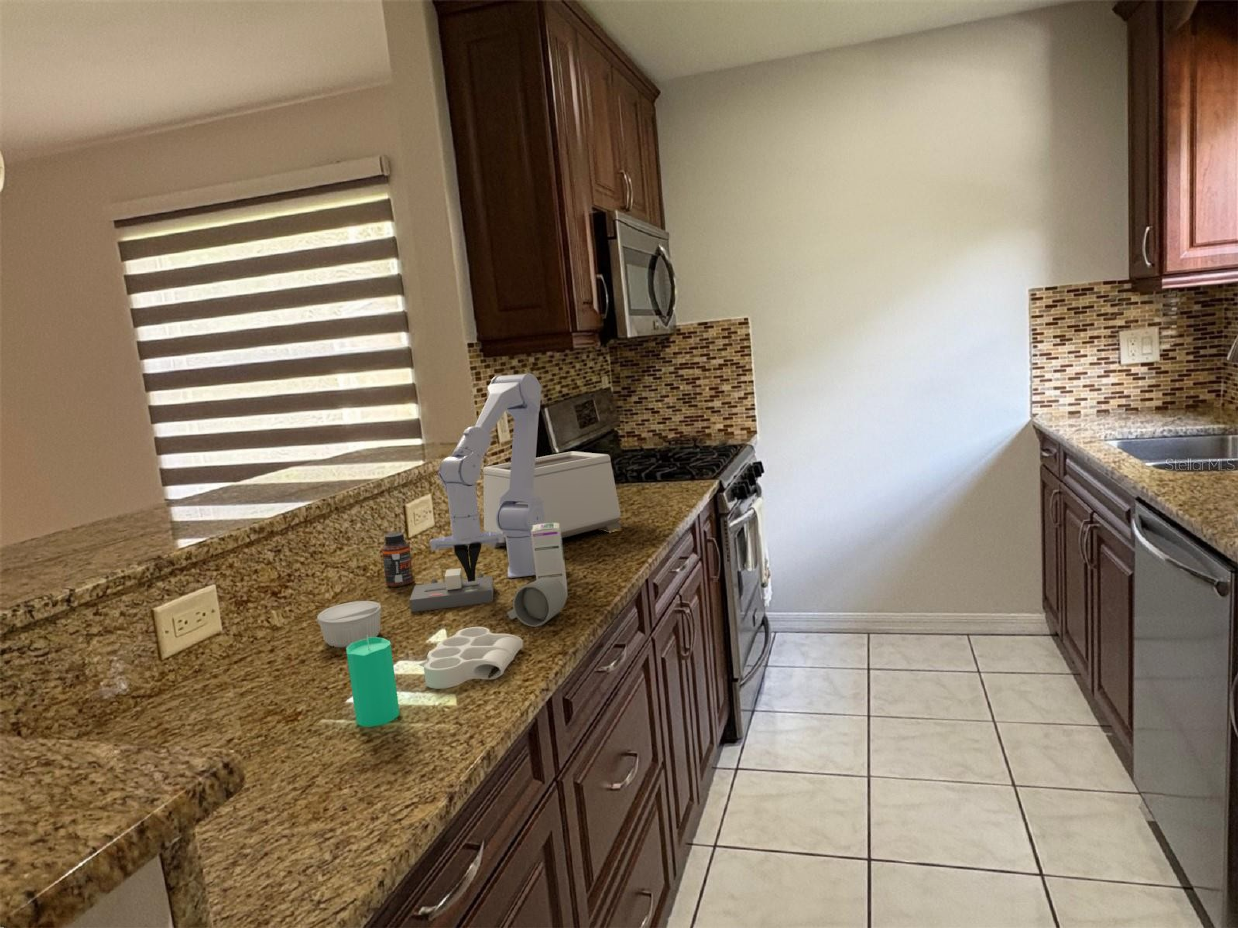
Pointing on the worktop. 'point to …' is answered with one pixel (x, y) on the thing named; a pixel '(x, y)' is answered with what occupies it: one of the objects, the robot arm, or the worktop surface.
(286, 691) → the worktop surface
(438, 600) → the panel
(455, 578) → the breaker knob
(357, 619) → the ramekin
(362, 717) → the candle
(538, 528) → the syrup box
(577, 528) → the toaster
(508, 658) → the white multi-cup tray
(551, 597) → the ceramic mug
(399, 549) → the supplement bottle
